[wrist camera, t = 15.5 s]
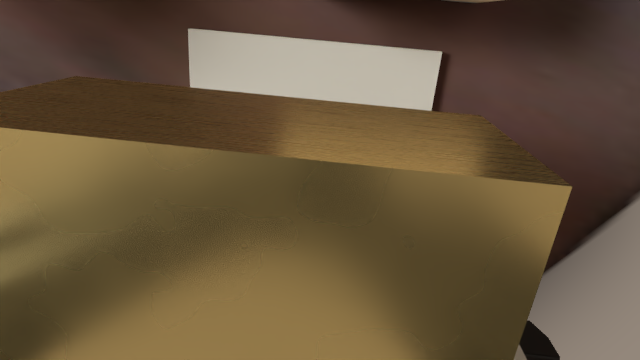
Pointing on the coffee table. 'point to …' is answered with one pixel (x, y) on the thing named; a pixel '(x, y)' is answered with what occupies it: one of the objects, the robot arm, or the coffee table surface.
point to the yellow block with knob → (262, 227)
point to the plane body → (473, 1)
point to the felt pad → (313, 69)
